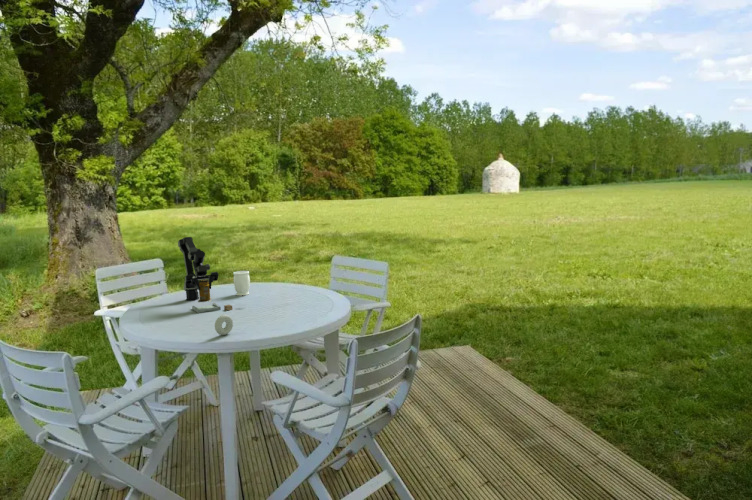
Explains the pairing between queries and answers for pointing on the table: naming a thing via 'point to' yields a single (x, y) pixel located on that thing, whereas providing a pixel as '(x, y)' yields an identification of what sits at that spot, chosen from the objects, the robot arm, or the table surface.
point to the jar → (241, 282)
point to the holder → (206, 308)
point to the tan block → (227, 307)
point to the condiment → (204, 291)
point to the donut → (227, 328)
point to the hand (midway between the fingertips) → (205, 289)
